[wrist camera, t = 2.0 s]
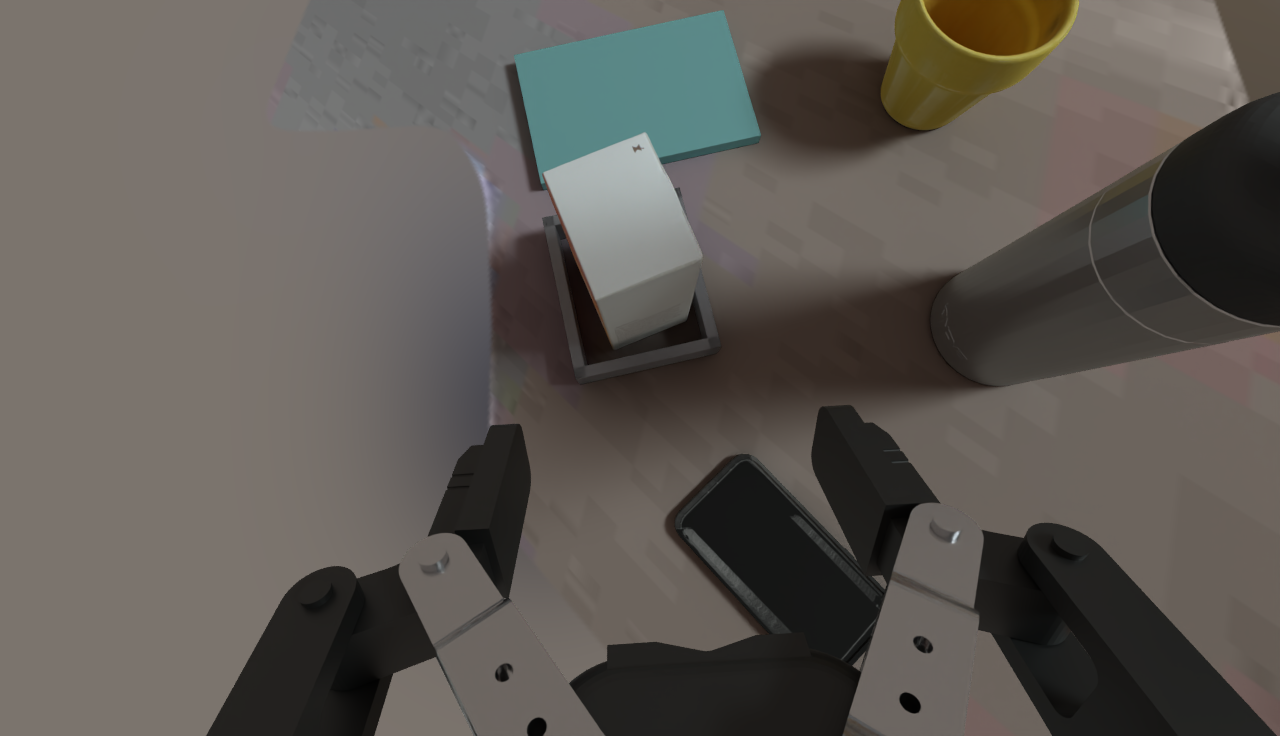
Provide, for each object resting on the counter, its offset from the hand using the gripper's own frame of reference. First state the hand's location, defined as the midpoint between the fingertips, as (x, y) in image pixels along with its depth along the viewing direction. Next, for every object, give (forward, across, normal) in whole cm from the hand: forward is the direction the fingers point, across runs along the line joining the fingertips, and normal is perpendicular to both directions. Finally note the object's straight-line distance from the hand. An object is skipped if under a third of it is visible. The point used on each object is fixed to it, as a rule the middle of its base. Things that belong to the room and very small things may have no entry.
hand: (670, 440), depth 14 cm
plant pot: (+36, -24, -5) cm, 44 cm away
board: (+37, -1, -6) cm, 37 cm away
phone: (+13, -9, +22) cm, 27 cm away
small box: (+26, +1, +7) cm, 27 cm away
